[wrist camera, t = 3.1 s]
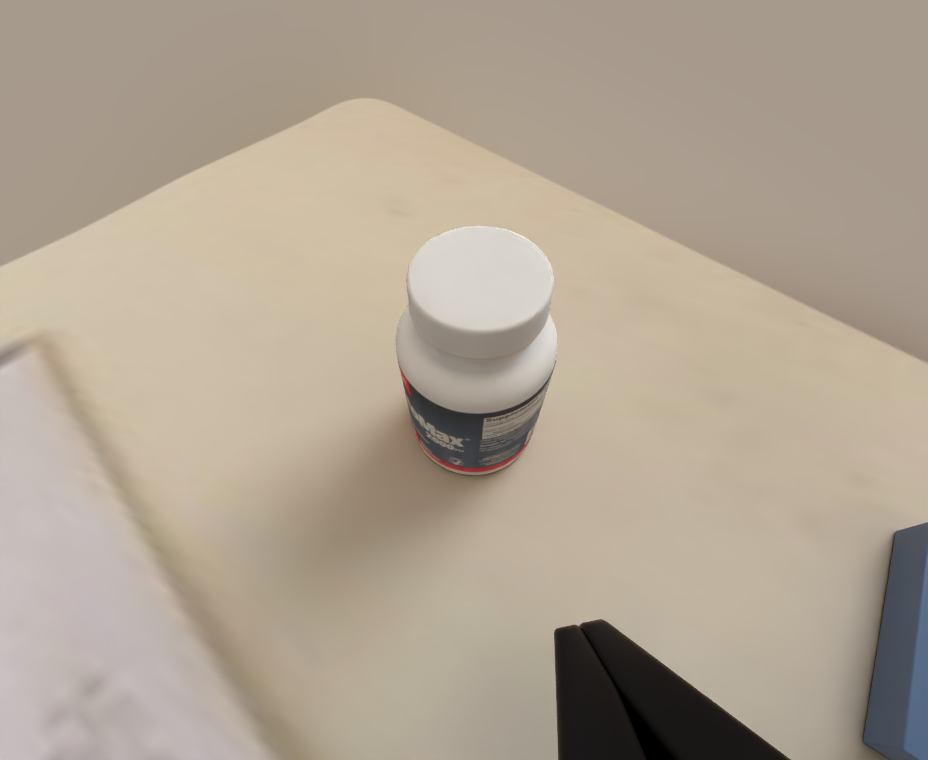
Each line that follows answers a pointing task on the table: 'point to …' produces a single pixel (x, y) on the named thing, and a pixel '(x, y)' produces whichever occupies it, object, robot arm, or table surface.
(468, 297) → the pill bottle
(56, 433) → the table surface
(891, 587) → the sticky note pad
